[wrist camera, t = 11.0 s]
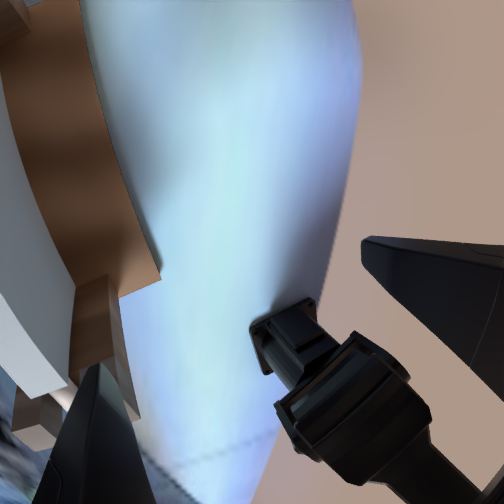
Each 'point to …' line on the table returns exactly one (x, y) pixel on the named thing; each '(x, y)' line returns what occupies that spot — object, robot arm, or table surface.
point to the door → (31, 285)
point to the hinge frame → (72, 195)
